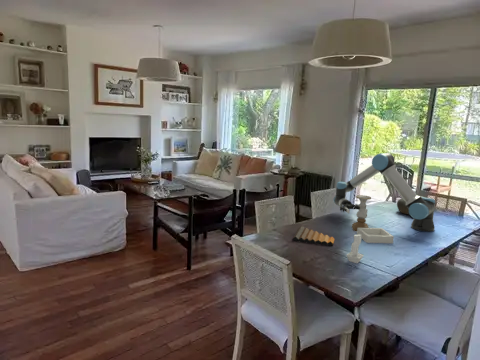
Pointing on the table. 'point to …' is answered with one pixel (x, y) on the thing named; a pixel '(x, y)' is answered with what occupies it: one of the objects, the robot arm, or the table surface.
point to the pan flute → (312, 237)
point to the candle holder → (361, 213)
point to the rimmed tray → (375, 235)
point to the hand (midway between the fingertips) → (358, 211)
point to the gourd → (403, 206)
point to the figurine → (355, 250)
